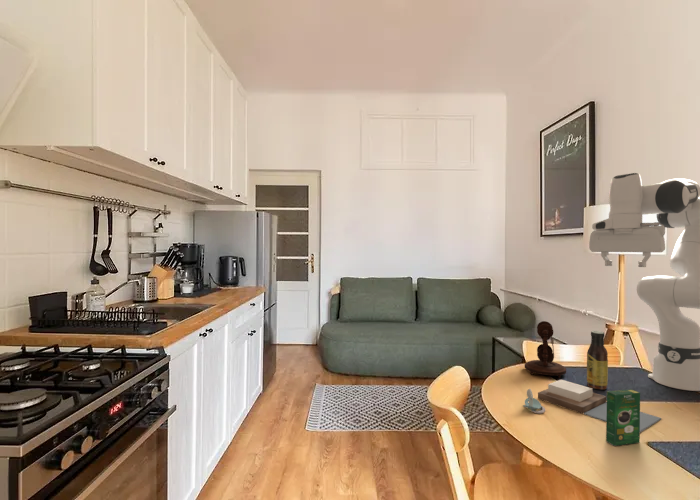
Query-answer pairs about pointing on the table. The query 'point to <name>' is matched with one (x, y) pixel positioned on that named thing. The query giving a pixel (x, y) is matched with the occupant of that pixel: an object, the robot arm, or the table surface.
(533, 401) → the pacifier
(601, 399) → the board
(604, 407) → the mat
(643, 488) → the table surface
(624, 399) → the coffee box
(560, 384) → the tile
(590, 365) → the sauce bottle
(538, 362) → the stacked ball statuette
